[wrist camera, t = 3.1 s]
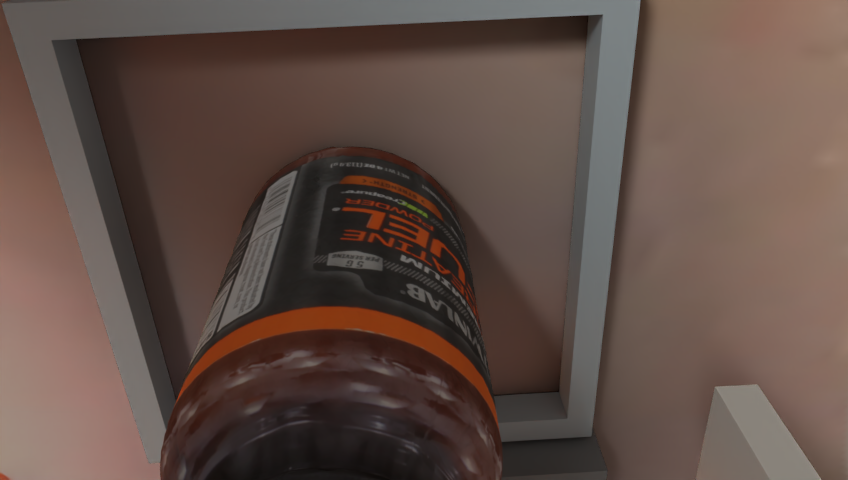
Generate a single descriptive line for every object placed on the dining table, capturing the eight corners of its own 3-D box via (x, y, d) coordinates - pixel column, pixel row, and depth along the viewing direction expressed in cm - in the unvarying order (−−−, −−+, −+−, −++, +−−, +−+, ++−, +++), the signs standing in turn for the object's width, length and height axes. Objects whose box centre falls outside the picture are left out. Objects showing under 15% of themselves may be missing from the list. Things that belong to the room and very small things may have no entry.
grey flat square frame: (26, -8, 16) (1, 4, 15) (627, -35, 16) (643, -26, 15) (159, 434, 23) (148, 463, 22) (581, 409, 23) (591, 436, 22)
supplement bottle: (504, 200, 19) (630, 585, 9) (396, 354, 22) (405, 787, 12) (303, 94, 18) (199, 430, 8) (210, 274, 20) (41, 703, 10)
